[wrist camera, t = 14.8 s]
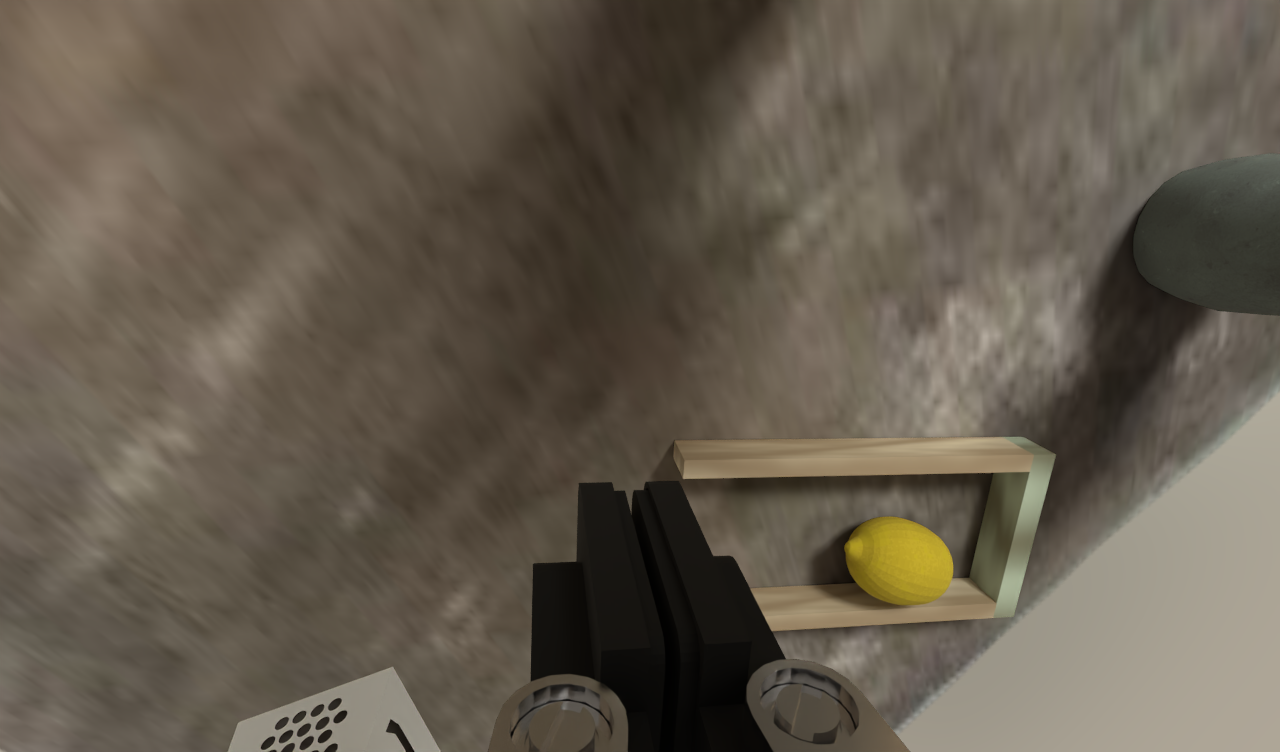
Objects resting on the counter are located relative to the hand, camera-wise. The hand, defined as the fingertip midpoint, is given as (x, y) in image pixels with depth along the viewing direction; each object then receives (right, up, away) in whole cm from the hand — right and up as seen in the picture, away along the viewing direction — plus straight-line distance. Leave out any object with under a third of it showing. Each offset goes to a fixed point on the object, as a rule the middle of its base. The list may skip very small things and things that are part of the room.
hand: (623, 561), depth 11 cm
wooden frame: (+14, -7, +33) cm, 37 cm away
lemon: (+13, -8, +30) cm, 34 cm away
